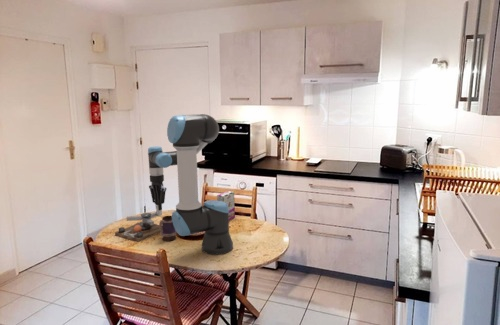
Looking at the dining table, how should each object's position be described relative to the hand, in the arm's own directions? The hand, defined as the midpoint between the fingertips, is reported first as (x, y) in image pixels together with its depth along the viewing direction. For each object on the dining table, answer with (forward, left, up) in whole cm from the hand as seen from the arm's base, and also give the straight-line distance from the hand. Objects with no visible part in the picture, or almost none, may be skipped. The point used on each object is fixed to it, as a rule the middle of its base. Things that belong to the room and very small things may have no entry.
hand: (159, 215), depth 199 cm
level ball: (+1, +15, -5) cm, 16 cm away
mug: (-17, +12, -7) cm, 22 cm away
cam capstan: (+2, +6, -5) cm, 8 cm away
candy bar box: (-26, -29, -7) cm, 40 cm away
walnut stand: (+3, +11, -7) cm, 13 cm away
